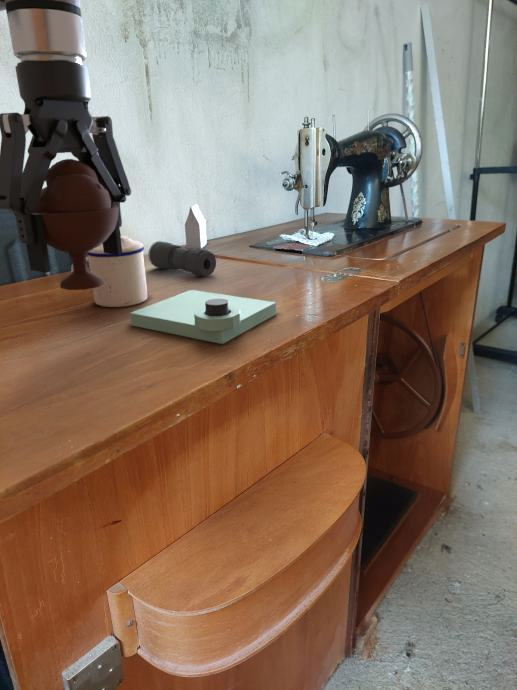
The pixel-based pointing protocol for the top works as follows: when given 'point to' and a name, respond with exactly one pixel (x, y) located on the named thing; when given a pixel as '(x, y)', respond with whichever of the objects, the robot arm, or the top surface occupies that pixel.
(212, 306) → the tare button
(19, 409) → the top surface
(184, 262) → the flashlight
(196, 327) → the scale
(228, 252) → the top surface
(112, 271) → the teacup with lid
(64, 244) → the ice cream bowl
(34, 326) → the top surface
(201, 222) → the white pointed block
